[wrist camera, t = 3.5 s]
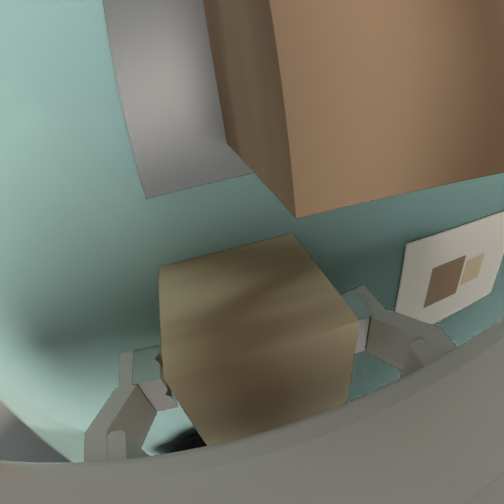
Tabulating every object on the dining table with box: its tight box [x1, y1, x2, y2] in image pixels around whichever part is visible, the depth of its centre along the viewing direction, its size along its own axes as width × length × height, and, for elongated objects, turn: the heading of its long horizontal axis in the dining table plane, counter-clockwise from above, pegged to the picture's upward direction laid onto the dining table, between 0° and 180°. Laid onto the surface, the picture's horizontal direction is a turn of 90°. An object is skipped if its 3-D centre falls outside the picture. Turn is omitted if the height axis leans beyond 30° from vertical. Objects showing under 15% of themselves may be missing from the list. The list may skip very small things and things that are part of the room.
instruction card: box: [395, 211, 504, 325], centre depth 16 cm, size 10×7×1 cm
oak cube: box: [158, 233, 359, 446], centre depth 11 cm, size 5×5×5 cm
